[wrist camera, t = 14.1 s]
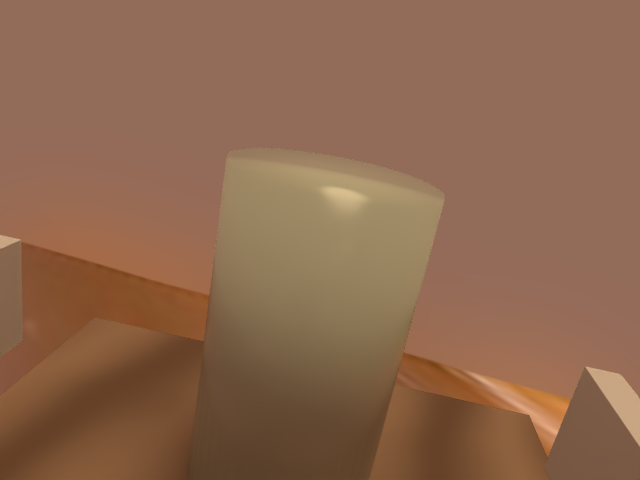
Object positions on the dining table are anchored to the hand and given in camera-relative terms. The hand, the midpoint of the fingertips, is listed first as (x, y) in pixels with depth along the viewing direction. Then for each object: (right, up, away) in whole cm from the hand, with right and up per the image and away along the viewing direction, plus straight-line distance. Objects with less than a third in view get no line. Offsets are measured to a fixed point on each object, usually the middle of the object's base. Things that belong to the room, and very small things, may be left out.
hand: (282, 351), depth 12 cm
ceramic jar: (-1, -6, +7) cm, 9 cm away
